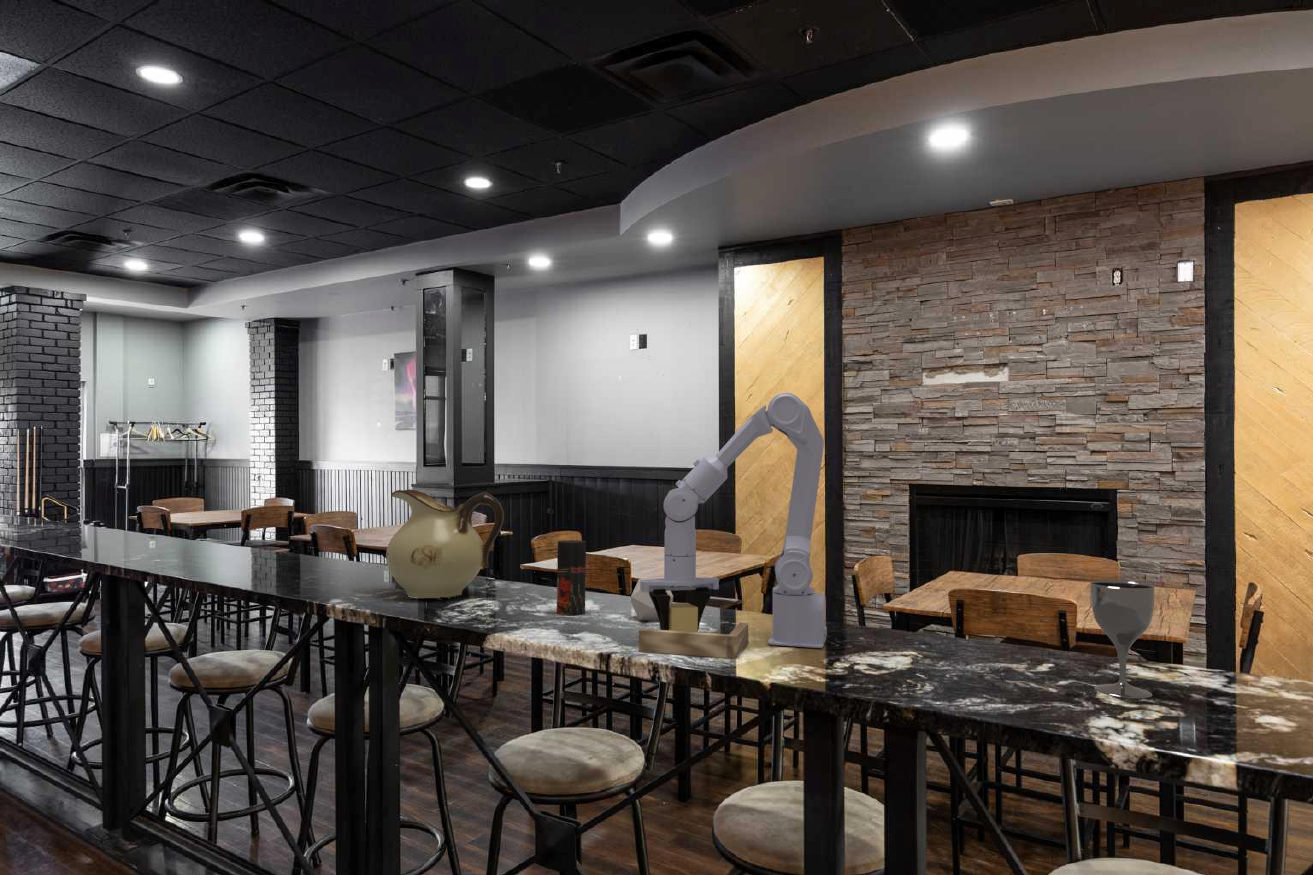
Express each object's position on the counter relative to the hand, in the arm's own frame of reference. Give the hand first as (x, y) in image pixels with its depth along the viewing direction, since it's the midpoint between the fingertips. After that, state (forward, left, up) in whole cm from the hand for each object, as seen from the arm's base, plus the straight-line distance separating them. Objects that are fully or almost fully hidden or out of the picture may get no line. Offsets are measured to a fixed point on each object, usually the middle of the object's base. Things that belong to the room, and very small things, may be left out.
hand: (679, 630), depth 148 cm
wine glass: (-68, +15, -2) cm, 70 cm away
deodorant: (+28, -18, -2) cm, 33 cm away
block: (0, 0, -2) cm, 2 cm away
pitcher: (+66, -29, -2) cm, 72 cm away
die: (+10, -17, -2) cm, 20 cm away
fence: (-4, +6, -1) cm, 8 cm away
